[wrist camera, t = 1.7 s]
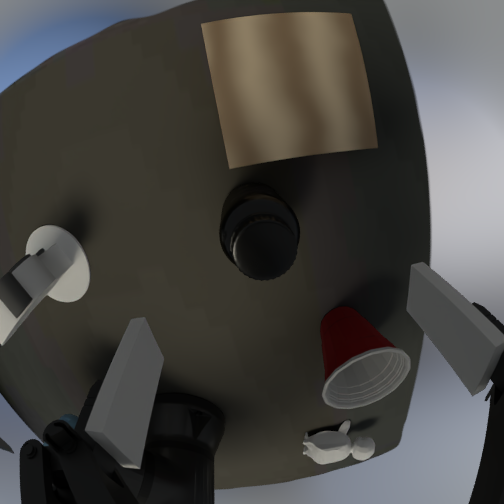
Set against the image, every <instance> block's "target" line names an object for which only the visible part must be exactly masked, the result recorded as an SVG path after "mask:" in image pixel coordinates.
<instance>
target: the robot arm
mask: <svg viewBox="0 0 504 504" xmlns="http://www.w3.org/2000/svg"><path fill="white" fill-rule="evenodd" d="M406 310H407V312H408V313H409V314H410V315H411V316H412V318H413V319H414V320H415V321H416V322H417V324H418V325H419V326H420V327H421V329H422V330H423V331H424V332H425V333H426V335H427V336H428V337H429V338H430V340H431V341H432V342H433V344H434V345H435V346H436V347H437V349H438V350H439V351H440V352H441V354H442V355H443V356H444V358H445V359H446V360H447V362H448V363H449V364H450V365H451V367H452V368H453V370H454V371H455V372H456V374H457V375H458V377H459V378H460V379H461V381H462V382H463V384H464V385H465V386H466V387H467V389H468V391H469V392H470V393H471V395H472V396H474V395H475V394H477V393H479V392H480V391H482V390H484V389H485V388H486V386H487V384H488V382H489V380H490V379H491V381H492V382H493V383H494V384H493V385H492V387H491V389H490V391H489V393H488V394H487V396H486V399H485V401H487V400H488V398H489V397H490V395H491V398H490V409H489V417H488V424H487V431H486V437H485V443H484V448H483V452H482V457H481V462H480V466H479V470H478V474H477V478H476V481H475V485H474V488H473V491H472V495H471V498H470V501H469V504H504V325H503V324H502V323H501V322H500V321H499V320H496V318H495V317H494V316H493V315H491V313H490V312H489V311H488V310H487V309H486V308H485V307H483V306H481V305H479V304H477V303H475V302H474V303H472V304H471V303H470V302H469V301H468V300H467V299H466V298H465V297H464V296H463V295H461V294H460V293H459V292H458V291H457V290H456V289H454V288H453V287H452V286H451V285H450V284H449V283H447V281H445V280H444V279H443V278H441V276H439V275H438V274H437V273H436V272H435V271H433V270H432V269H431V268H430V267H429V266H427V265H426V264H425V263H424V262H420V263H417V264H413V265H411V271H410V283H409V292H408V301H407V309H406ZM163 362H164V357H163V355H162V353H161V351H160V349H159V347H158V345H157V343H156V340H155V338H154V336H153V334H152V332H151V330H150V327H149V325H148V323H147V321H146V318H145V317H142V318H135V319H131V321H130V323H129V325H128V327H127V329H126V331H125V333H124V336H123V338H122V340H121V342H120V344H119V347H118V349H117V351H116V353H115V356H114V358H113V360H112V362H111V365H110V367H109V369H108V372H107V374H106V377H105V379H104V380H97V382H96V383H95V384H94V385H93V386H92V387H91V389H90V391H89V394H88V396H87V399H86V401H85V403H84V406H83V408H82V410H81V413H80V415H79V417H77V416H75V415H72V414H65V415H63V416H62V417H61V418H60V419H59V420H55V421H53V422H51V423H50V424H49V425H48V426H47V427H46V428H45V430H44V433H43V441H45V442H44V444H43V445H42V444H41V443H40V442H39V441H38V440H35V439H30V440H28V441H26V442H25V444H23V446H22V448H21V450H20V491H21V504H214V456H215V453H216V451H217V448H218V446H219V443H220V441H221V439H222V436H223V434H224V430H225V418H224V415H223V413H222V412H221V411H220V410H219V409H218V408H217V407H216V406H215V405H213V404H212V403H210V402H208V401H206V400H204V399H201V398H198V397H195V396H191V395H186V394H177V393H167V394H160V395H156V391H157V386H158V382H159V378H160V374H161V370H162V366H163ZM155 395H156V396H155ZM144 446H145V448H144Z"/></svg>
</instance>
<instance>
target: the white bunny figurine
mask: <svg viewBox="0 0 504 504" xmlns="http://www.w3.org/2000/svg"><path fill="white" fill-rule="evenodd" d="M349 428H350V420H346V421H345V422H344V423H343V424H342V425H341V426H340V428H339V430H338V432H336V431H323V432H319V433H317V434H315V435H312V436H310V437H308V433H307V432H306V433H305V438H304V441H303V444H304V445H305V447H304V450H303V454H307V455H308V456H309V457H311V458H312V459H313V460H314V461H315V462H317V463H319V464H327V463H331V462H336V461H341V460H343V459H345V458H346V457H347V456H348V455H349V454H350V453H352V455H353V457H354V458H355V459H357V460H365V459H368V458H369V457H371V456H372V455H373V453H374V450H375V443H374V441H373V440H372V439H371V438H369V437H365V438H361V437H358V438H356V439H355V441H354V443H353V444H351V441H350V438H349V437H348V436H347V435H346V434H347V432H348V430H349Z"/></svg>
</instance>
